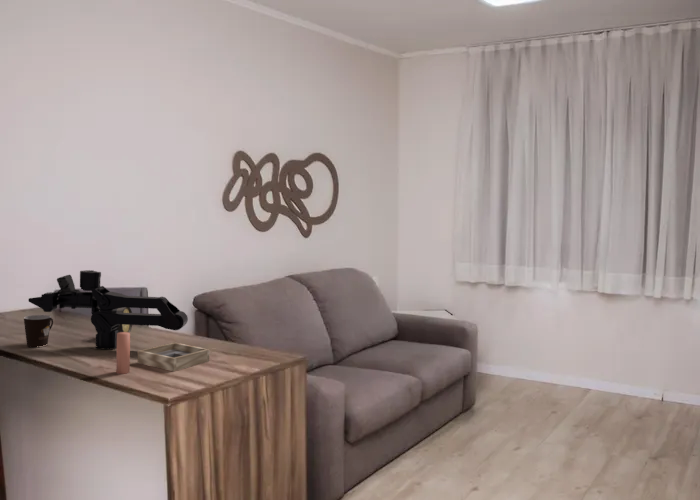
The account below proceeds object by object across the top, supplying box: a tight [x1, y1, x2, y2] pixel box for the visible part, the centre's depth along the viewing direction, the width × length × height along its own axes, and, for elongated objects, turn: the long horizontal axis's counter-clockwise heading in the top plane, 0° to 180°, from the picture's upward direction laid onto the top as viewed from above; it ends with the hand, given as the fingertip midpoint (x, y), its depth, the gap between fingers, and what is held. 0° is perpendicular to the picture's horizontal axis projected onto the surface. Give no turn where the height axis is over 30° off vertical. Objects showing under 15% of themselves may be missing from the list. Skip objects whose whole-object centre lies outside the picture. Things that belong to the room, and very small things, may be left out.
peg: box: [115, 332, 131, 375], centre depth 189 cm, size 4×4×12 cm
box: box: [137, 341, 211, 372], centre depth 204 cm, size 16×16×4 cm
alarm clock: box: [117, 307, 133, 334], centre depth 235 cm, size 11×5×16 cm, turn 179°
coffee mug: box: [23, 314, 54, 348], centre depth 219 cm, size 12×9×10 cm
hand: (35, 297), depth 218 cm, fingers open, 9 cm apart
